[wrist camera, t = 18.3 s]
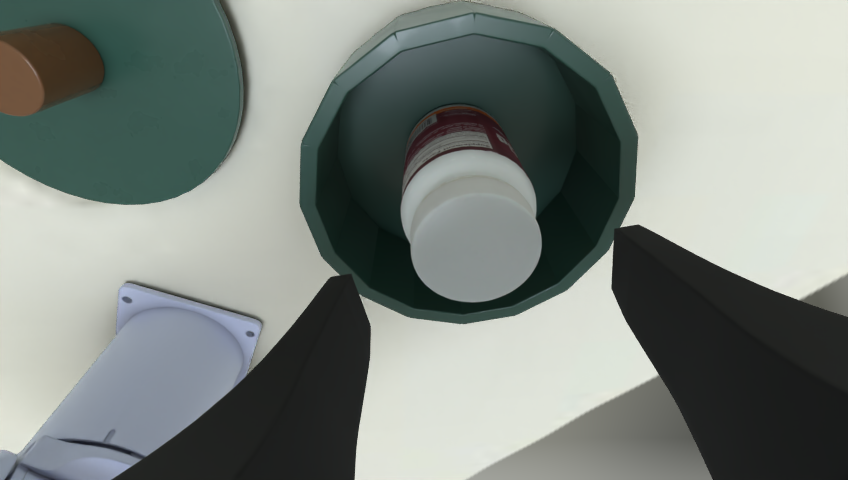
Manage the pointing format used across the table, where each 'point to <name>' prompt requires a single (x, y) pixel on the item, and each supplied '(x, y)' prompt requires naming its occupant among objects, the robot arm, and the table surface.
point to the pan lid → (118, 95)
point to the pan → (520, 121)
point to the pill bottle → (468, 206)
